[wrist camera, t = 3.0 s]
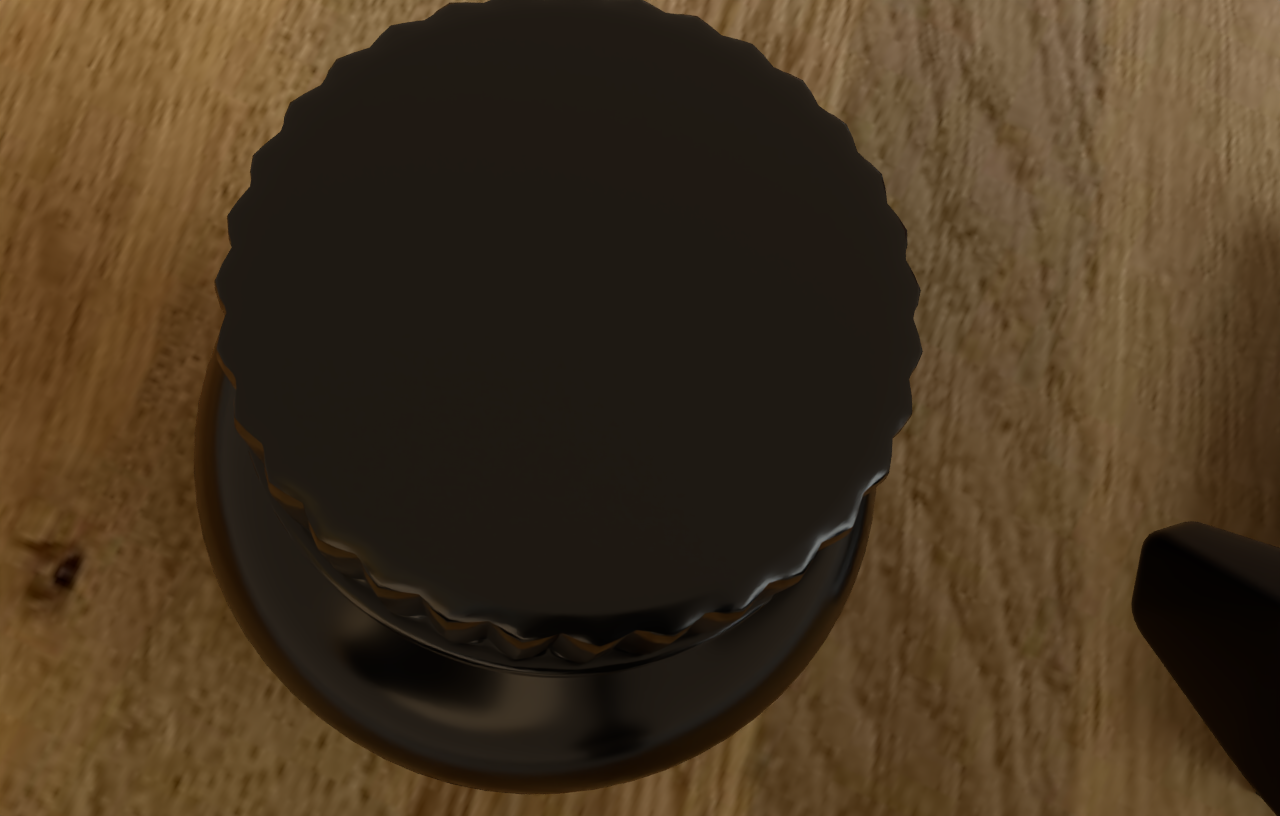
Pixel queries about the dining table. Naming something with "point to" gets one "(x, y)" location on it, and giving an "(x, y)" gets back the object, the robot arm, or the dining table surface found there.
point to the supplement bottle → (551, 391)
